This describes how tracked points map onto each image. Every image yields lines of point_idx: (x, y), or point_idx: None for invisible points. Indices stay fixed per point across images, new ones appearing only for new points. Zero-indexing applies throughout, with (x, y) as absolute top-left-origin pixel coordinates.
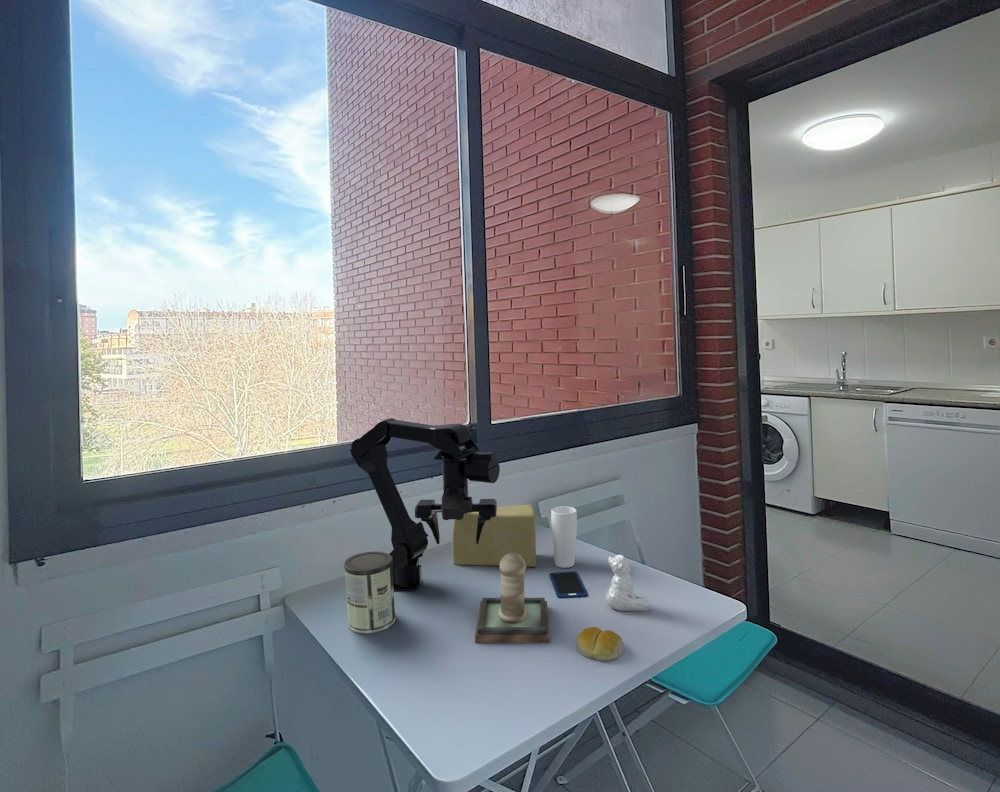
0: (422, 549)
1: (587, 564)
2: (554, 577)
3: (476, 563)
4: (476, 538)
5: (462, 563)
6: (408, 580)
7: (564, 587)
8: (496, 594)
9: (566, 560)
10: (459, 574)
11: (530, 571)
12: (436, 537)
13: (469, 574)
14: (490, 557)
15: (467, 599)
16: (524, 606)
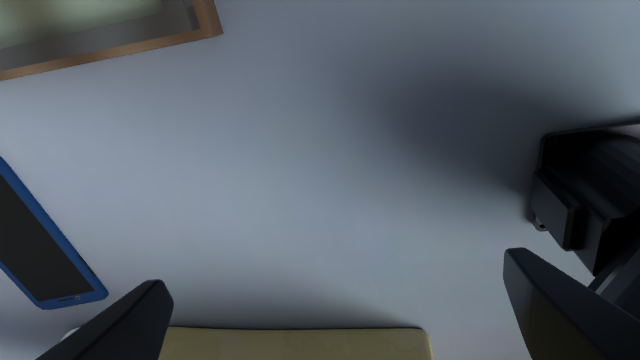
0: (611, 292)
1: (42, 346)
2: (75, 272)
3: (345, 333)
4: (120, 312)
5: (394, 332)
6: (605, 156)
7: (10, 216)
8: (207, 150)
9: None
10: (388, 272)
11: None
12: (567, 295)
13: (353, 275)
14: (294, 352)
15: (302, 93)
16: (5, 10)
